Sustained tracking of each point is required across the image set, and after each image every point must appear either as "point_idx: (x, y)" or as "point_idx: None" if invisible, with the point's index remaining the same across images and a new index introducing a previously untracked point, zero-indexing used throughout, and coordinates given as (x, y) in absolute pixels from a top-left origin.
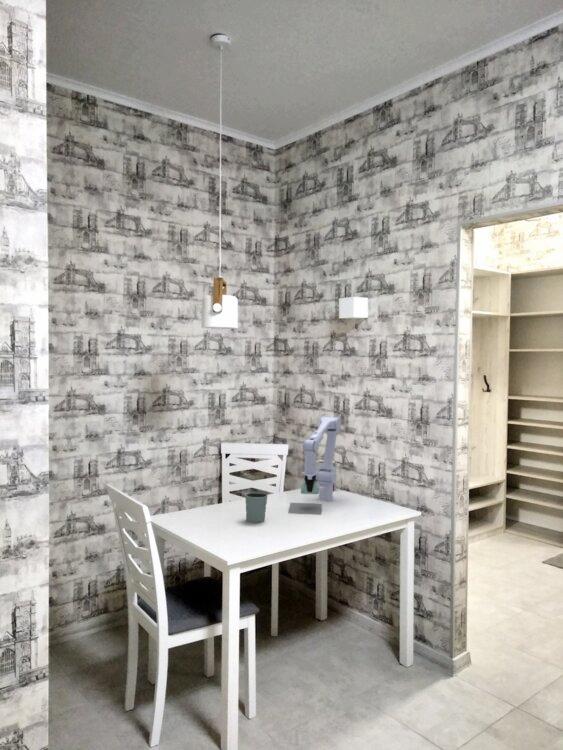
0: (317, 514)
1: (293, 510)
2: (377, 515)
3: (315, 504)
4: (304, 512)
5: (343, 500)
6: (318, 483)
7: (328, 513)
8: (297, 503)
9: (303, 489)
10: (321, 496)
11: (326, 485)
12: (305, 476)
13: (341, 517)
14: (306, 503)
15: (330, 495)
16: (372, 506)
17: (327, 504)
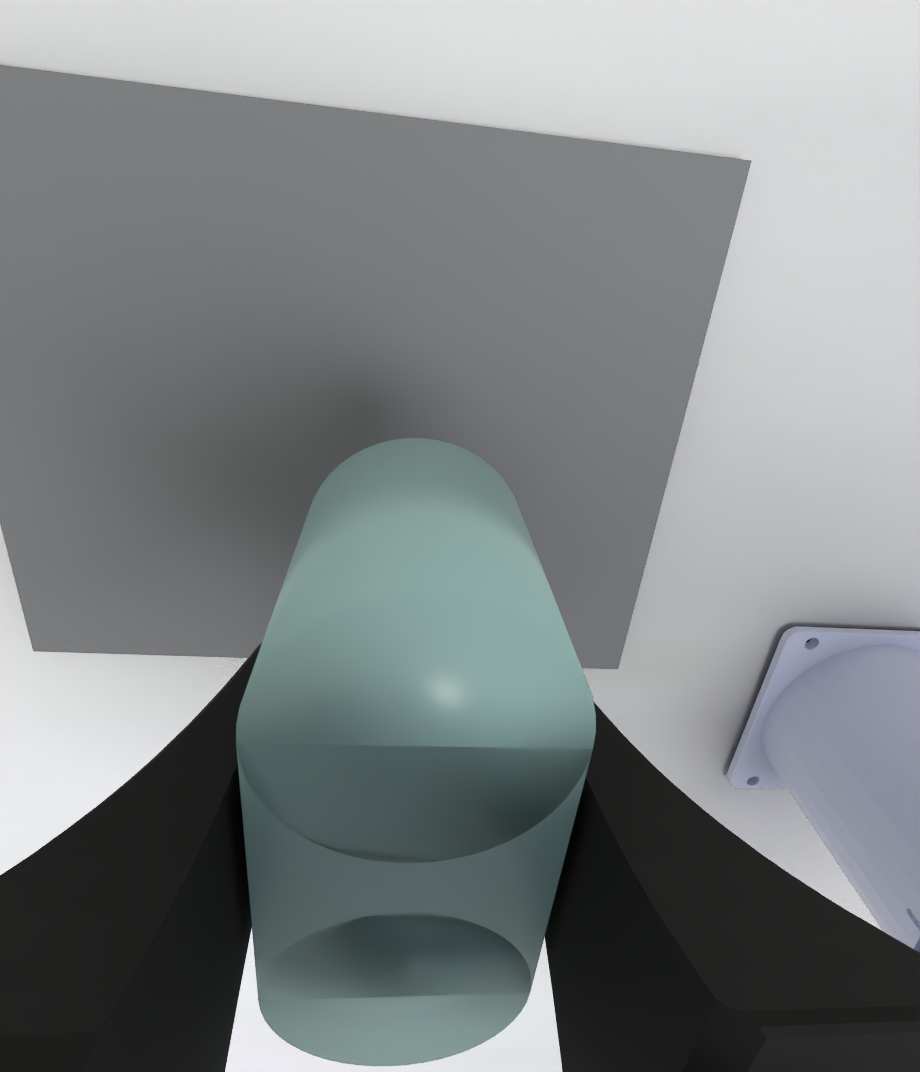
0: (21, 604)
1: (149, 201)
2: (234, 1053)
3: (585, 593)
4: (68, 415)
5: (782, 860)
6: (380, 1057)
7: (190, 721)
8: (668, 308)
9: (292, 562)
10: (836, 707)
11: (914, 929)
12: (714, 1029)
13: (51, 833)
14: (655, 467)
15: (806, 816)
16: (533, 1031)
17: (628, 720)
